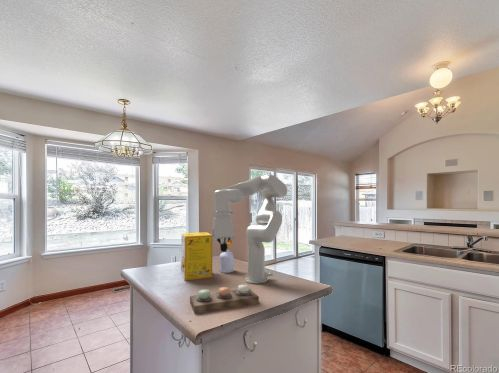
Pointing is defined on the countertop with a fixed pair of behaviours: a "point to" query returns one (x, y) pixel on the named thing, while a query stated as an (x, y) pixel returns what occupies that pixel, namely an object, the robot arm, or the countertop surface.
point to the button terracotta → (224, 291)
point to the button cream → (243, 288)
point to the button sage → (203, 294)
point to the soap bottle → (227, 260)
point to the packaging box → (196, 255)
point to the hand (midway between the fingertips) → (223, 251)
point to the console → (223, 301)
